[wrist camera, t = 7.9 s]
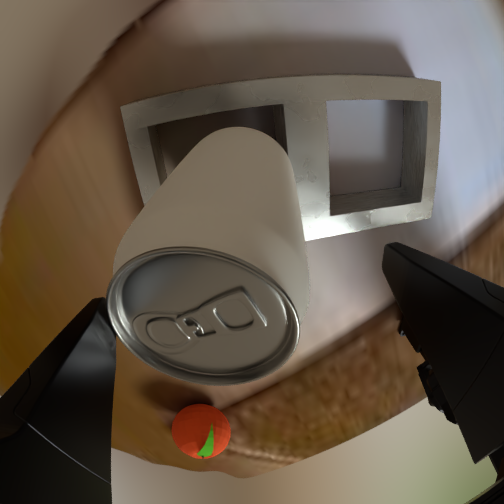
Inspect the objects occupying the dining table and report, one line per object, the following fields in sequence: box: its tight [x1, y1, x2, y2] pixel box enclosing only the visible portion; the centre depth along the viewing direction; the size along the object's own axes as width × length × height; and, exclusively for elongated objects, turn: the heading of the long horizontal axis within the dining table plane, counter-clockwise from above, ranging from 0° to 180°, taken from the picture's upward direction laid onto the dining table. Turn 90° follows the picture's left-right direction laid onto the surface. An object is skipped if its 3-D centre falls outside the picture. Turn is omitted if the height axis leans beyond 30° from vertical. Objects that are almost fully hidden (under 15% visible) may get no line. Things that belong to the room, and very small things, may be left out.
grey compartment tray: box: [120, 74, 441, 241], centre depth 19 cm, size 20×10×3 cm, turn 97°
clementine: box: [172, 404, 231, 459], centre depth 32 cm, size 8×7×7 cm
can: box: [106, 127, 310, 386], centre depth 13 cm, size 6×6×12 cm
